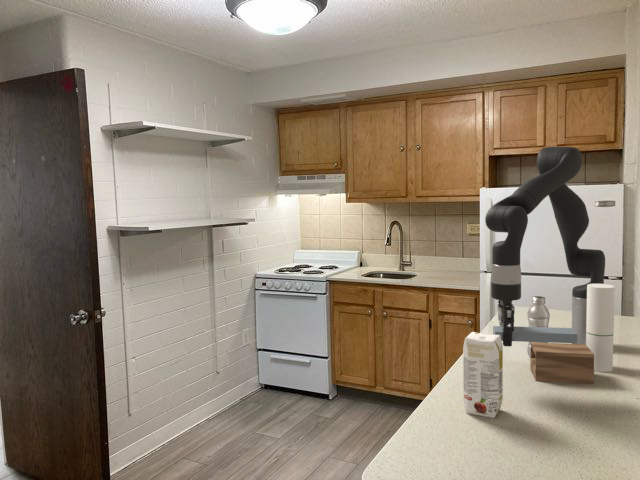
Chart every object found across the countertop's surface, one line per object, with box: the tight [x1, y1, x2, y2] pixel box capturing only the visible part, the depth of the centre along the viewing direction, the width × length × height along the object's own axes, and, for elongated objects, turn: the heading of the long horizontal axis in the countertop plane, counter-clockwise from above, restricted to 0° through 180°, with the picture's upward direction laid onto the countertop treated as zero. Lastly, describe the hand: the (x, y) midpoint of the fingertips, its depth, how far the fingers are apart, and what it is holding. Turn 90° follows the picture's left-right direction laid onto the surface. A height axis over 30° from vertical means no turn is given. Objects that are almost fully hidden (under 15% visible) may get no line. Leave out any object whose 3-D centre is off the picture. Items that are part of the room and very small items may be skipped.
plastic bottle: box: [526, 295, 551, 358], centre depth 164 cm, size 6×7×20 cm
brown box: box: [529, 342, 595, 385], centre depth 149 cm, size 9×15×8 cm, turn 77°
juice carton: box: [462, 331, 504, 419], centre depth 127 cm, size 8×9×19 cm
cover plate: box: [492, 325, 577, 344], centre depth 138 cm, size 6×20×2 cm, turn 77°
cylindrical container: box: [586, 283, 615, 373], centre depth 154 cm, size 7×7×25 cm
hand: (505, 342), depth 139 cm, fingers closed on cover plate, 6 cm apart
